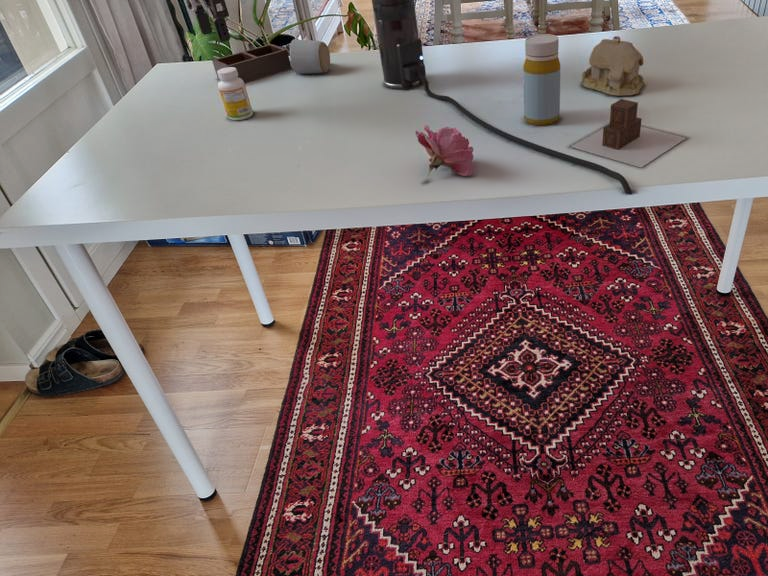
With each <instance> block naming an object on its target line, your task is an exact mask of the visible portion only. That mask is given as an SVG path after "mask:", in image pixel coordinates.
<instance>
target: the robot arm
mask: <svg viewBox="0 0 768 576" xmlns="http://www.w3.org/2000/svg"><path fill="white" fill-rule="evenodd" d="M185 1H186V5H187V8H188V10H191V12H192V13H193V15H195V17H196V21H197V25H198V27H199V31H200V33H201V34H202V35H204V36H206V35H210V34H213V28H212V24H211V21H210V18H211V20H212V23H213V27H214V29H215V33H216V36H217V39H218V41H219V42H221V43H224V42H228V41H230V40H231V35H230V32H229V28H228V25H227V22H226V20H227V18H228V17H230V14H229V10H228V7H227V4H226V0H185ZM415 4H416V3H415V0H371V6H372V12H373V19H374V24H375V25H374V26H375V33H376V38H377V44H378V50H379V58H380V62H381V69H382V76H383V84H384V86H385V87H387V88H390V89H399V90H400V89H402V90H409V89H411V88H414V87H416V86H420V85H423V87H424V91H425V93H426V95H428V97H430V98H433V99H435V100H439V101H446V102H448V103H449V104H451V105H453V106H454V107H455V108H456V109H457V110H458V111H459V112H460V113H462V114H464V115H465V116H466V117H468V118H469V119H470V120H472V121H473V122H475V123H476V124H478V126H479V125H480V126H481V127H483V128H485V129H486V130H488V131H490V132H492V133H493V134H496V135H498V136H500V137H502V138H504V139H506V140H508V141H510V142H514V143H516V144H518V145H521V146H524V147H526V148H529V149H532V150H533V151H534V150H535V151H537V152H540V153H542V154H545V155H549V156H551V157H554V158H558V159H559V160H563V161H567V162H569V163H571V164H576V165H578V166H582V167H586V168H587V169H592V170H595V171H597V172H600V173H602V174H603V175H606V176H607V177H611V178H613V179H615V180H617V181H618V182H619V183H620V185H621V186H622V189H623V190H624V193H625V194H626V195H632V194H633V191H632V189H631V186H630V184H629V183H628V181H627V179H626V178H625V177H624V176H623V175H622V174H621V173H619V172H617V171H615V170H612V169H610V168H608V167H605V166H603V165H601V164H598V163H595V162H592V161H589V160H586V159H582V158H579V157H576V156H573V155H570V154H566V153H564V152H561V151H558V150H554V149H552V148H548V147H546V146H542V145H539V144H537V143H535V142H531V141H529V140H525V139H523V138H521V137H517V136H515V135H513V134H511V133H508V132H505V130H502V129H499V128H497V127H495V126H493V125H491V124H489V123H488V122H487V121H484V120H483V119H481V118H480V117H478V116H477V115H475V114H473V113H472V112H470V111H469V110H468V109H467V108H465V107H463V105H461V104H460V103H459V102H458V101H456V100H455V99H454V98H452V97H450V96H448V95H443V94H441V95H440V94H436V93H434V92H432V91H431V89H430V87H429V82H428V80H427V77H426V76H427V72H426V66H425V61H424V53H423V44H422V39H421V38H420V37H419V29H418V20H417V11H416V5H415ZM209 16H210V18H209Z"/></svg>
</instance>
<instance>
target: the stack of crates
mask: <svg viewBox="0 0 768 576" xmlns="http://www.w3.org/2000/svg"><path fill="white" fill-rule="evenodd" d="M638 105H639V102H637V101H633V100H628V99H624V98H620V99H618V100H617V101H615V102H614V103H612V104H610V112H609V123H608V124H607V125H605V126H603V128H601V129H600V130H598V131H596V132H594V133H592V134H590V135H588V136H587V137H585V138H583V139H581V140H580V141H578V142H577V143H575V144H573V145H571V146H570V148H573V149H576V150H579V151H583V152H587V153H590V154H593V155H597V156H600V157H604V158H607V159H611V160H614V161H617V162H621V163H624V164H627V165H631V166H634V167H637V168H643V167H645V166H647V165H648V164H649V163H651V162H653V161H654V160H656V159H657V158H658V157H660V156H661V155H664V154H665V153H666V152H667V151H669V150H671V149H672V148H673V147H675V146H677V145H678V144H679V143H681V142H683V141H684V140H686V139H687V137H684V136H680V135H676V134H672V133H668V132H664V131H660V130H656V129H652V128H648V127H644V126H642V118H641V117H637V115H638Z"/></svg>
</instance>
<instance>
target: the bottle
mask: <svg viewBox="0 0 768 576" xmlns="http://www.w3.org/2000/svg"><path fill="white" fill-rule="evenodd" d="M559 40H560V39H559V36H557V35H555V34H551V33H538V34H532V35H529V36H527V37H525V40H524V51H525V53H524V54H525V60H524V62H523V66H522V67H523V70H522V72H523V73H522V74H523V117H524V120H525V121H526V122H527V124H528V123H529V124H530V125H534V126H548V125H552V124H553V123H556V122H557V121H558V119H559V118H560V111H561V109H560V108H561V61H560V59H559V48H560V47H559V46H560V45H559V43H560V41H559Z"/></svg>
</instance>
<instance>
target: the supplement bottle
mask: <svg viewBox="0 0 768 576" xmlns="http://www.w3.org/2000/svg"><path fill="white" fill-rule="evenodd" d="M217 73H218V77H219V79H220V80H219V79H218V80H219V82H218V83H217V87H218V91H219V94H220V97H221V100H222V103H223V106H224V109H225V113H226V115H227V118H228V119H229V120H231V121H243V120H247V119H249V118H251V117H252V116H253V114H254V111H253V108H252V104H251V101H250V97H249V94H248V92H247V88H246V83H244V81H243V80H242V79H241V78H238V72H237V69H236V68H235V67H226V68H222V69H220V70H218V71H217Z"/></svg>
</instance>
